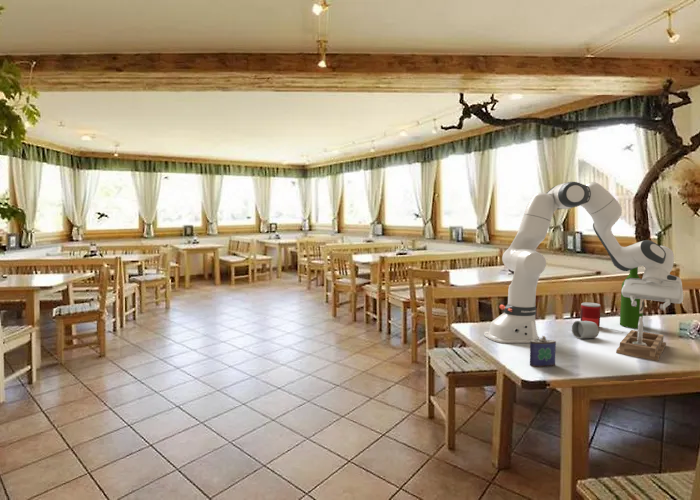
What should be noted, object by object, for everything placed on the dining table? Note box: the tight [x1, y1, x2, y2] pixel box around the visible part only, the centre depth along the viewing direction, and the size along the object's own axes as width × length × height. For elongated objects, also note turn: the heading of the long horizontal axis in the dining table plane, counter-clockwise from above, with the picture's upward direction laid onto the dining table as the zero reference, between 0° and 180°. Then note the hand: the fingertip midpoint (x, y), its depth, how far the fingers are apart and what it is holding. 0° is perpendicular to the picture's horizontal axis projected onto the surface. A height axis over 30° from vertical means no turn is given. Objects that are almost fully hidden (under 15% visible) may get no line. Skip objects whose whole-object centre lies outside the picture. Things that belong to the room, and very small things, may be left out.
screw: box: [632, 316, 647, 346], centre depth 159 cm, size 13×5×5 cm
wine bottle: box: [619, 267, 645, 329], centre depth 196 cm, size 9×9×32 cm
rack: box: [615, 329, 667, 362], centre depth 164 cm, size 24×13×4 cm, turn 137°
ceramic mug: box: [571, 320, 600, 340], centre depth 180 cm, size 11×8×8 cm
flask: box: [529, 335, 557, 368], centre depth 146 cm, size 9×3×11 cm, turn 95°
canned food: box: [580, 301, 601, 329], centre depth 197 cm, size 8×8×11 cm
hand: (647, 307), depth 164 cm, fingers open, 8 cm apart
